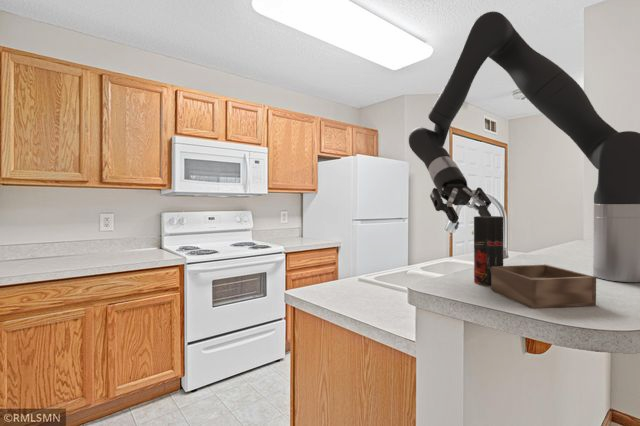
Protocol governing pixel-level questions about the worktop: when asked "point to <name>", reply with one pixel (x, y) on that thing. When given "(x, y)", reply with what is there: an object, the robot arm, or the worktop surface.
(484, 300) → the worktop surface
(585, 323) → the worktop surface
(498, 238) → the deodorant
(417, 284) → the worktop surface
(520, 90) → the robot arm
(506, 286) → the holder box
